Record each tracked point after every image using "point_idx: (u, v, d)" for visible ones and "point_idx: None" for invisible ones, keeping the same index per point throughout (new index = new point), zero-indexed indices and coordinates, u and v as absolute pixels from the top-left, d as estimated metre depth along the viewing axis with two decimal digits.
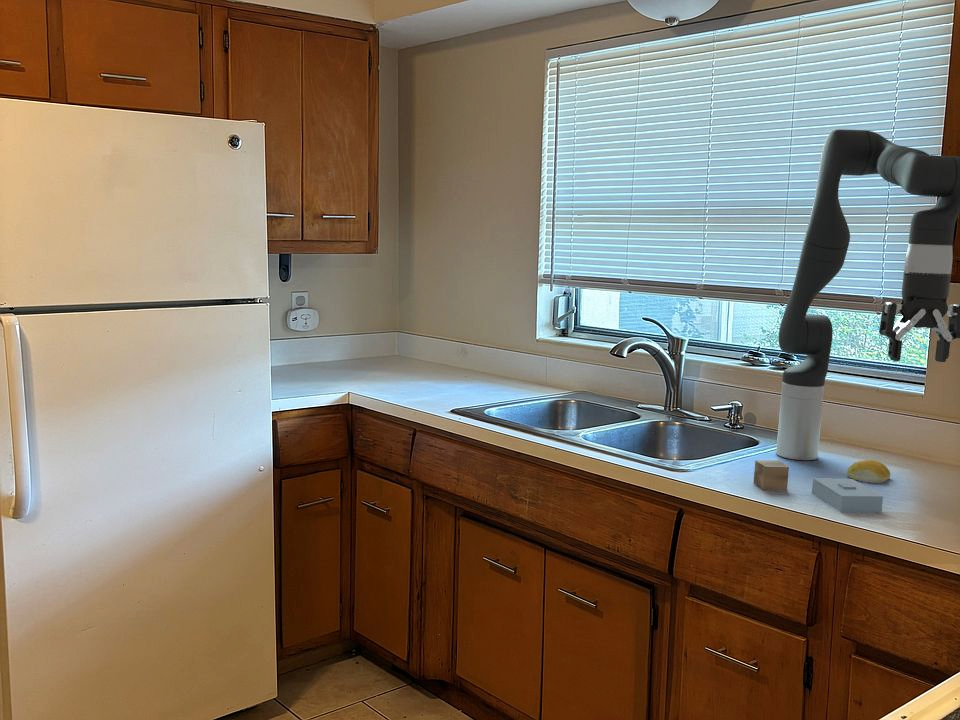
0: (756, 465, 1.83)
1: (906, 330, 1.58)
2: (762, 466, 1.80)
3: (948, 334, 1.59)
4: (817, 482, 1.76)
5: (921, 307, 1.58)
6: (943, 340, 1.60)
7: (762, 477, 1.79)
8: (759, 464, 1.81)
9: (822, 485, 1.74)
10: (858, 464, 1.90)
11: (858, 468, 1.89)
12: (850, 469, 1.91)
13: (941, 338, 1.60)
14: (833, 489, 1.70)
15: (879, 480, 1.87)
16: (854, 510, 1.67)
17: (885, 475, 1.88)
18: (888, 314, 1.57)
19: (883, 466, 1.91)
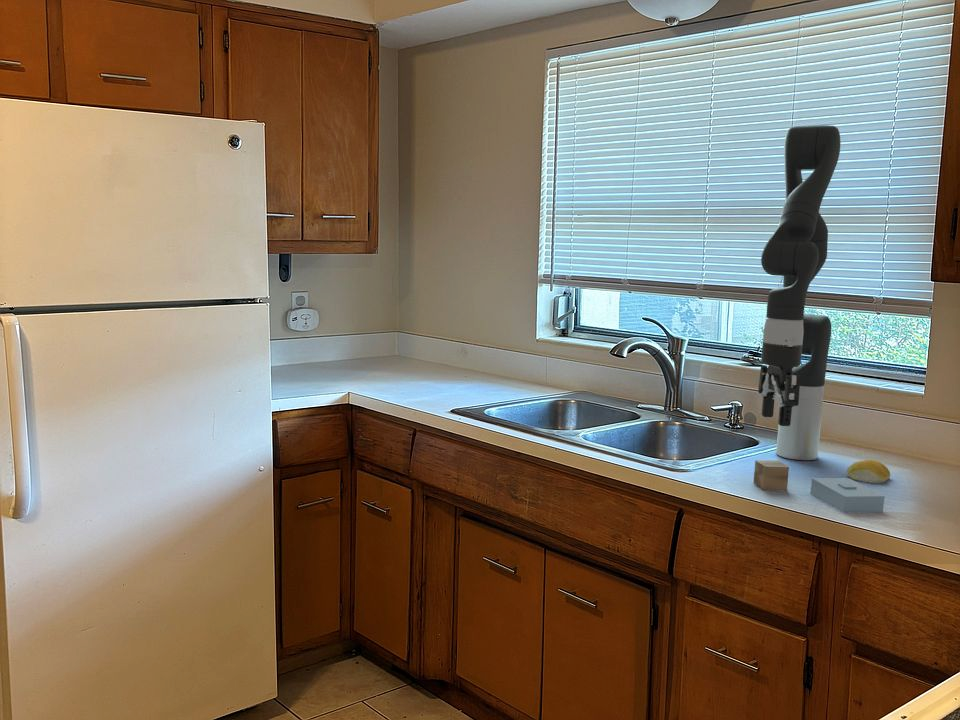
0: (756, 465, 1.83)
1: None
2: (762, 466, 1.80)
3: (774, 392, 1.83)
4: (816, 482, 1.76)
5: None
6: (771, 398, 1.83)
7: (762, 477, 1.79)
8: (759, 464, 1.81)
9: (822, 485, 1.74)
10: (858, 464, 1.90)
11: (858, 468, 1.89)
12: (850, 469, 1.91)
13: (768, 396, 1.83)
14: (834, 489, 1.70)
15: (879, 481, 1.87)
16: (856, 510, 1.67)
17: (885, 475, 1.88)
18: (798, 386, 1.72)
19: (883, 466, 1.91)
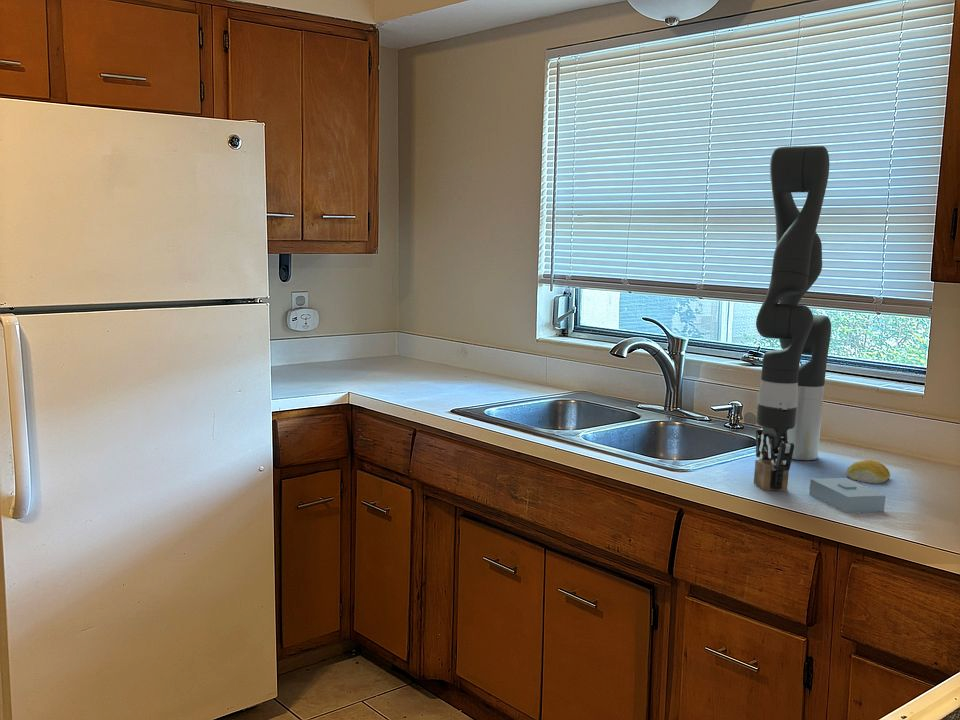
0: (756, 465, 1.83)
1: None
2: (762, 466, 1.80)
3: None
4: (816, 483, 1.75)
5: None
6: None
7: (762, 477, 1.79)
8: (759, 464, 1.81)
9: (822, 486, 1.73)
10: (858, 464, 1.90)
11: (858, 468, 1.89)
12: (850, 469, 1.91)
13: None
14: (836, 490, 1.70)
15: (878, 481, 1.87)
16: (859, 510, 1.67)
17: (885, 475, 1.88)
18: (791, 454, 1.74)
19: (883, 466, 1.91)
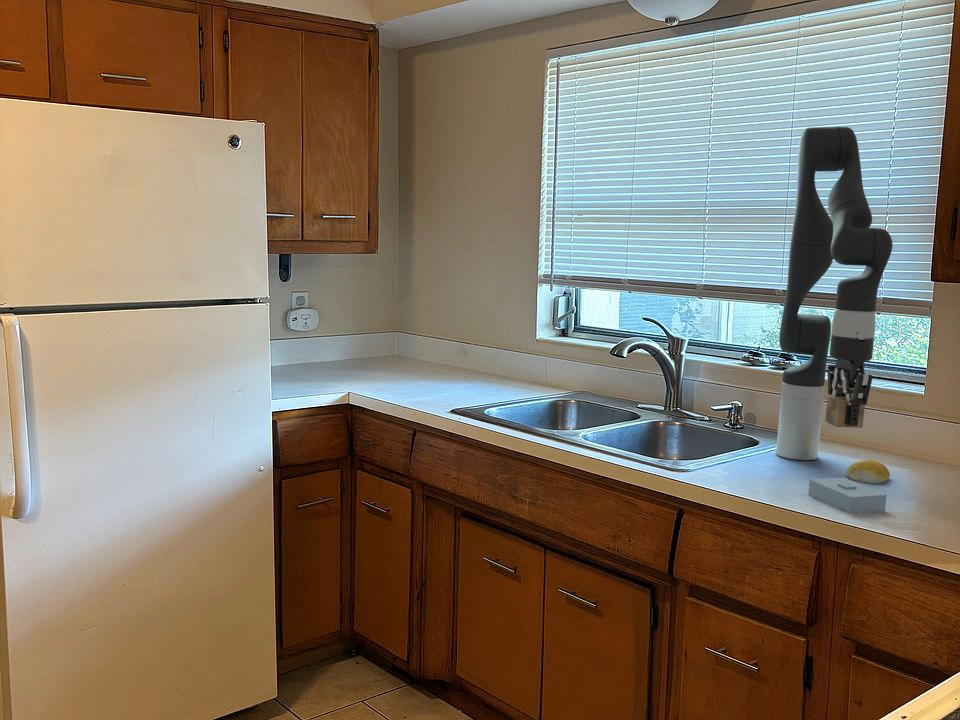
0: (828, 401, 1.72)
1: None
2: (836, 401, 1.69)
3: None
4: (815, 483, 1.75)
5: None
6: None
7: (836, 413, 1.69)
8: (832, 399, 1.70)
9: (823, 486, 1.73)
10: (858, 464, 1.90)
11: (858, 468, 1.89)
12: (850, 469, 1.90)
13: None
14: (837, 490, 1.70)
15: (878, 481, 1.87)
16: (861, 510, 1.67)
17: (885, 475, 1.88)
18: (869, 386, 1.64)
19: (883, 466, 1.90)
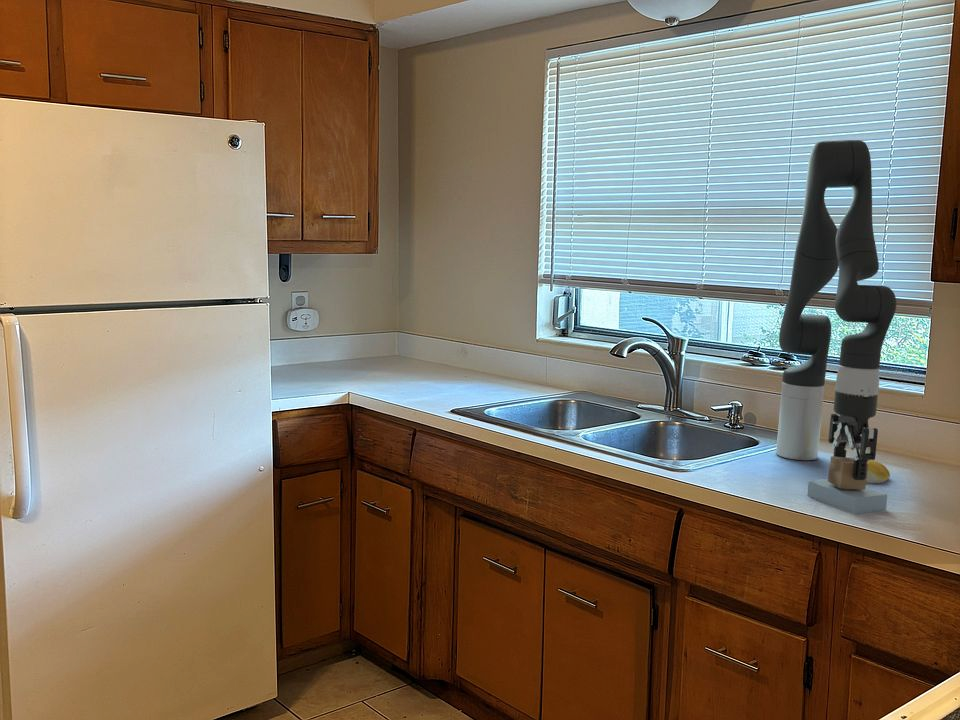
0: (832, 461, 1.73)
1: None
2: (840, 462, 1.70)
3: None
4: (815, 485, 1.74)
5: None
6: (842, 448, 1.75)
7: (839, 474, 1.70)
8: (836, 460, 1.72)
9: (823, 488, 1.72)
10: None
11: None
12: None
13: (840, 447, 1.75)
14: (839, 491, 1.69)
15: (878, 481, 1.87)
16: (865, 511, 1.67)
17: (885, 475, 1.87)
18: (875, 440, 1.64)
19: (883, 466, 1.90)
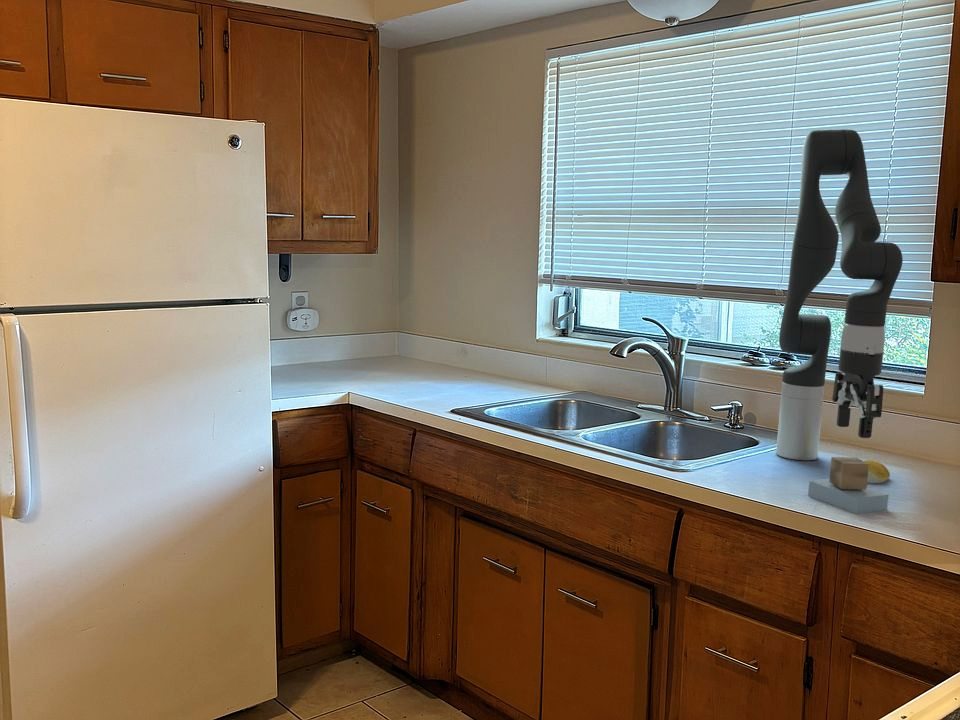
0: (832, 462, 1.73)
1: None
2: (840, 463, 1.70)
3: None
4: (816, 484, 1.74)
5: None
6: (847, 407, 1.74)
7: (840, 474, 1.70)
8: (836, 461, 1.72)
9: (824, 487, 1.72)
10: None
11: None
12: None
13: (844, 405, 1.74)
14: (841, 491, 1.69)
15: (878, 481, 1.87)
16: (866, 511, 1.67)
17: (885, 475, 1.87)
18: (881, 396, 1.63)
19: (882, 466, 1.90)
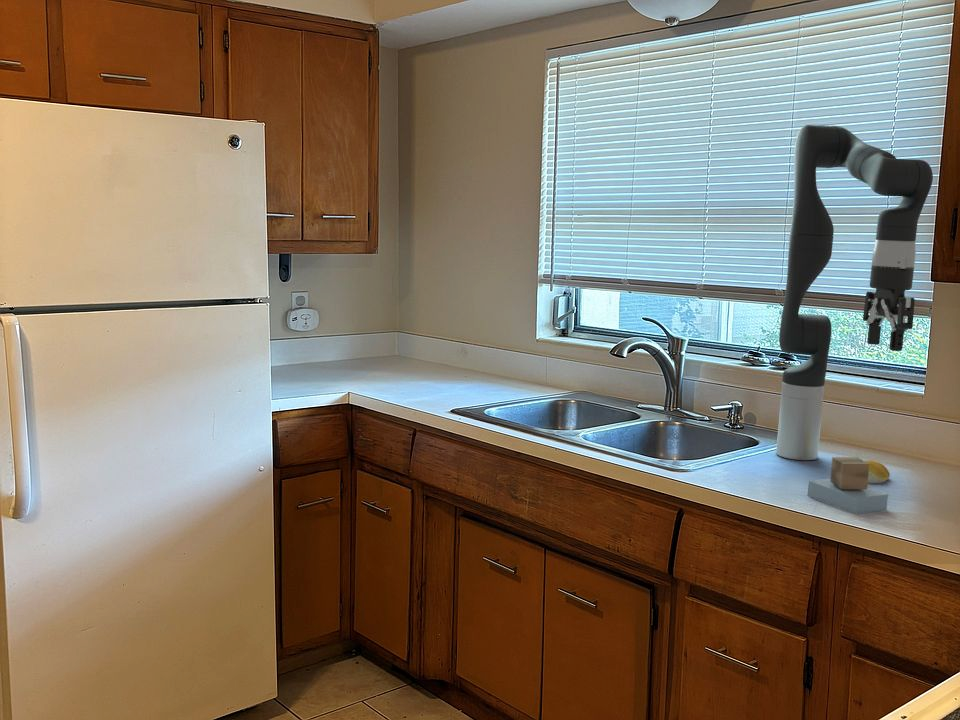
0: (833, 462, 1.73)
1: None
2: (840, 463, 1.70)
3: None
4: (816, 485, 1.74)
5: None
6: (877, 325, 1.78)
7: (840, 475, 1.70)
8: (836, 461, 1.72)
9: (824, 487, 1.72)
10: None
11: None
12: None
13: (874, 323, 1.78)
14: (840, 491, 1.69)
15: (878, 481, 1.87)
16: (866, 511, 1.67)
17: (885, 475, 1.87)
18: (912, 308, 1.67)
19: (882, 467, 1.90)
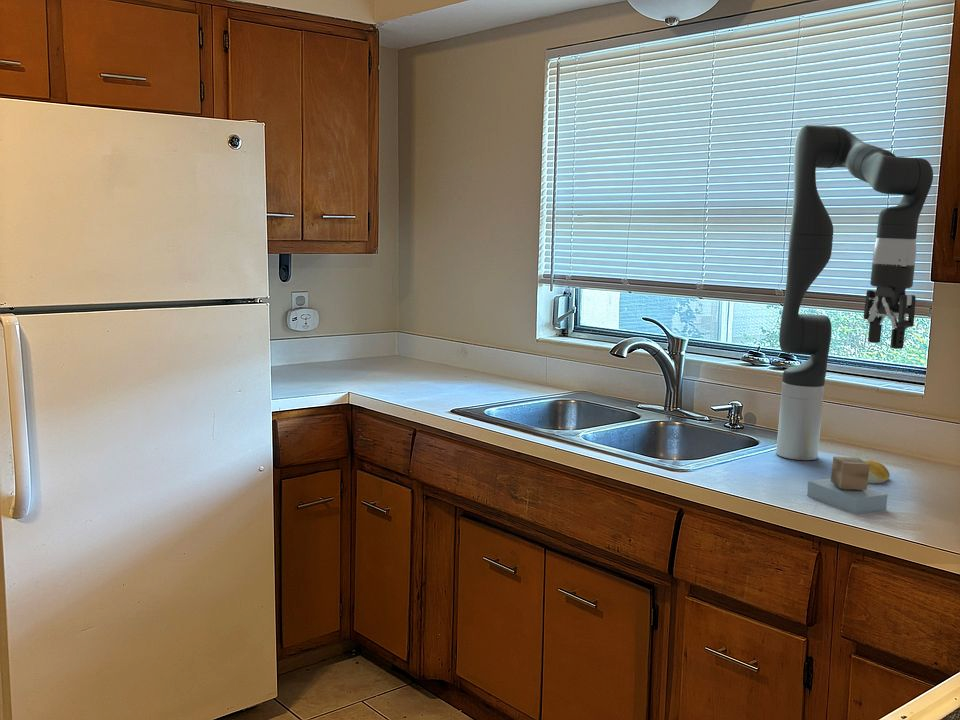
0: (834, 462, 1.73)
1: None
2: (840, 463, 1.70)
3: None
4: (815, 485, 1.74)
5: None
6: (878, 323, 1.78)
7: (840, 474, 1.70)
8: (837, 461, 1.72)
9: (824, 488, 1.72)
10: None
11: None
12: None
13: (875, 322, 1.78)
14: (840, 491, 1.69)
15: (878, 481, 1.87)
16: (865, 511, 1.67)
17: (885, 475, 1.87)
18: (913, 306, 1.67)
19: (882, 467, 1.90)
